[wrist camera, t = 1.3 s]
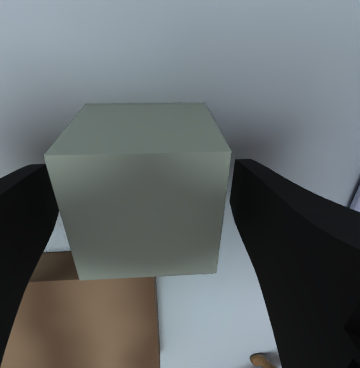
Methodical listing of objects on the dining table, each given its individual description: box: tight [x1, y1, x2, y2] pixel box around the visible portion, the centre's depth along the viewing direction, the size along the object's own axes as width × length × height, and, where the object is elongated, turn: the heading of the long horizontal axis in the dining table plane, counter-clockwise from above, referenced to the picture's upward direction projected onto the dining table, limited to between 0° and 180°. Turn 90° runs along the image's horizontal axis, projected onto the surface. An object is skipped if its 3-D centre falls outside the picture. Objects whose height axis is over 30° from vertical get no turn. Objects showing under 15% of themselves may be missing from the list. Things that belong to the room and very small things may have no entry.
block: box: [43, 103, 232, 280], centre depth 11 cm, size 5×5×5 cm
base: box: [0, 252, 160, 368], centre depth 18 cm, size 12×12×2 cm
